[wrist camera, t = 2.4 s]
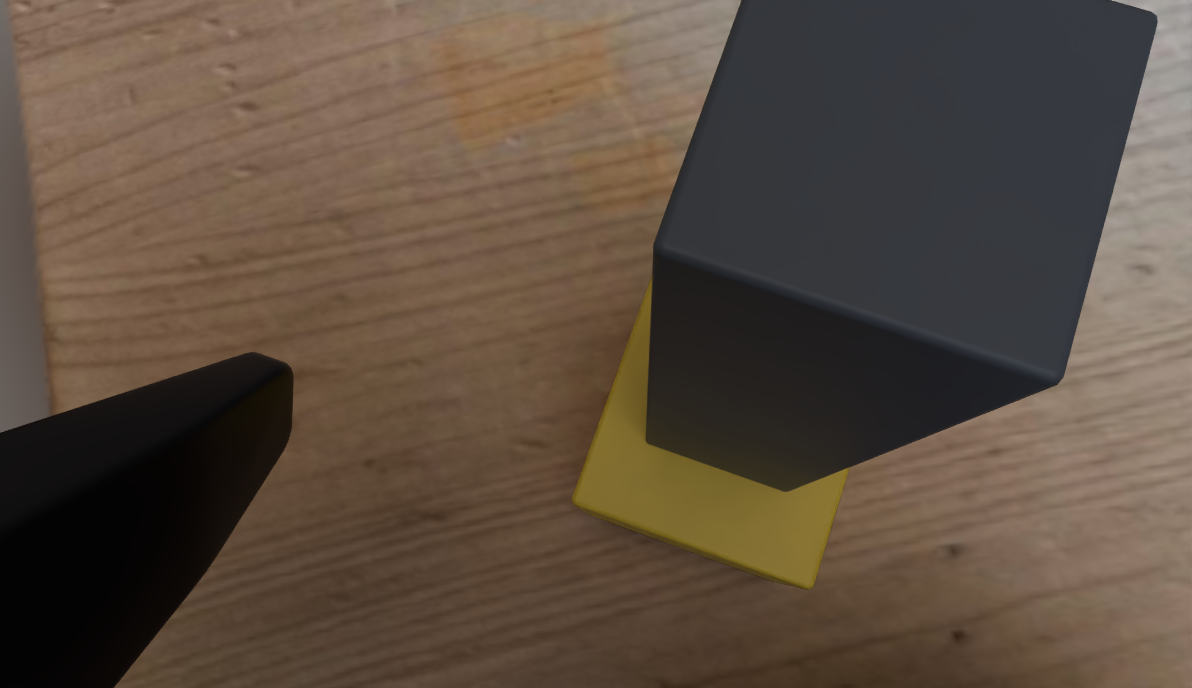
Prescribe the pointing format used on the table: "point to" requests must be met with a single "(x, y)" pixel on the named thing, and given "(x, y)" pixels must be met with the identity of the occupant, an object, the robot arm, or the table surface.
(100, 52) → the table surface
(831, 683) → the table surface
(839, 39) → the sponge wand
